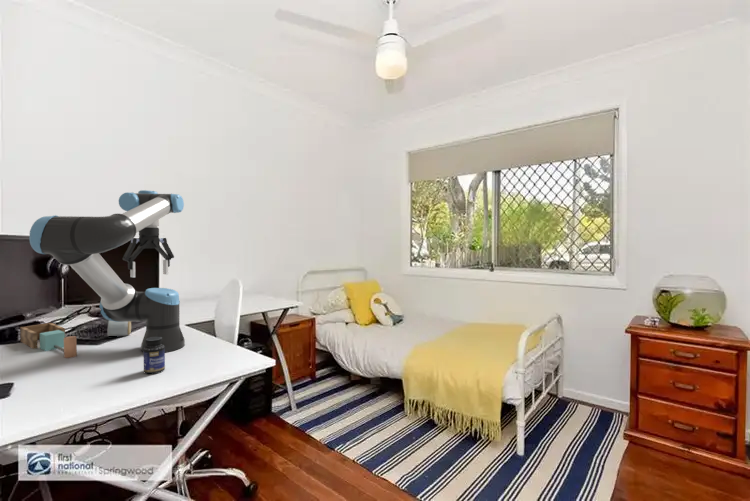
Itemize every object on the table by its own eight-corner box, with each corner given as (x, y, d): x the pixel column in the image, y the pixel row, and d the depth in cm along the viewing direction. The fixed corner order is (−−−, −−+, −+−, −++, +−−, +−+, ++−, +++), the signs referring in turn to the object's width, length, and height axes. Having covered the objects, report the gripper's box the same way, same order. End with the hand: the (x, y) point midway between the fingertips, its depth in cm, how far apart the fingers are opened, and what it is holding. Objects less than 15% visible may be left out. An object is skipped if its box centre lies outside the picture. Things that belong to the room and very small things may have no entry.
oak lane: (65, 342, 155) (64, 328, 155) (33, 348, 147) (33, 333, 146) (51, 336, 164) (50, 322, 163) (20, 341, 155) (20, 327, 155)
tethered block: (82, 354, 140) (81, 336, 140) (62, 359, 135) (61, 340, 135) (59, 344, 152) (58, 327, 152) (40, 348, 147) (39, 330, 147)
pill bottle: (149, 376, 121) (149, 342, 121) (139, 372, 125) (139, 339, 124) (168, 370, 127) (168, 337, 126) (158, 366, 130) (158, 334, 129)
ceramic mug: (129, 336, 164) (129, 319, 164) (107, 339, 161) (106, 321, 160) (132, 331, 174) (132, 314, 174) (111, 333, 170) (110, 316, 170)
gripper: (172, 227, 176) (173, 272, 177) (112, 226, 155) (113, 277, 156) (181, 227, 171) (182, 273, 173) (120, 226, 151) (122, 279, 152)
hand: (149, 275), depth 164 cm, fingers open, 13 cm apart
